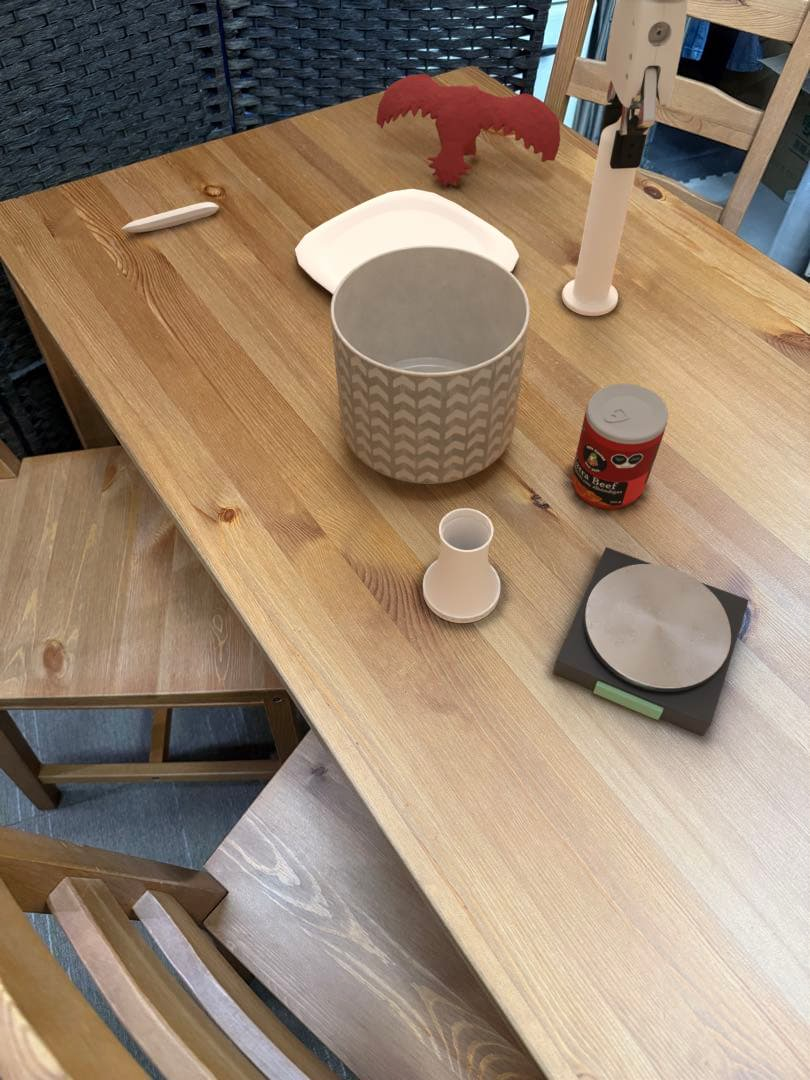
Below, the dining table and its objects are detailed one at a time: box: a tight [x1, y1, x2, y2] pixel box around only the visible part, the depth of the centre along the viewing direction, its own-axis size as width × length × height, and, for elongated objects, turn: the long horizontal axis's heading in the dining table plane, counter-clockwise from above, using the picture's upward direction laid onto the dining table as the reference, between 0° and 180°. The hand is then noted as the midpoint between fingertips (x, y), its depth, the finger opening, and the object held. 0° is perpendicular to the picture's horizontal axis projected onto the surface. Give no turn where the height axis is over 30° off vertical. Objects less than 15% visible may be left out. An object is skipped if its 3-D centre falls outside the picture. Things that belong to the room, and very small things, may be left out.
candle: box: [561, 110, 638, 317], centre depth 99 cm, size 7×7×25 cm
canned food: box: [571, 383, 669, 510], centre depth 87 cm, size 8×8×11 cm
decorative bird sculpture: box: [375, 73, 561, 188], centre depth 125 cm, size 28×9×15 cm
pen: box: [120, 201, 220, 233], centre depth 119 cm, size 2×14×2 cm, turn 116°
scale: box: [552, 546, 749, 737], centre depth 79 cm, size 14×14×4 cm
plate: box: [294, 188, 520, 296], centre depth 114 cm, size 25×25×2 cm
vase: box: [422, 507, 501, 624], centre depth 80 cm, size 8×8×10 cm
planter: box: [329, 245, 531, 485], centre depth 89 cm, size 19×19×18 cm
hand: (619, 151), depth 94 cm, fingers closed on candle, 4 cm apart
